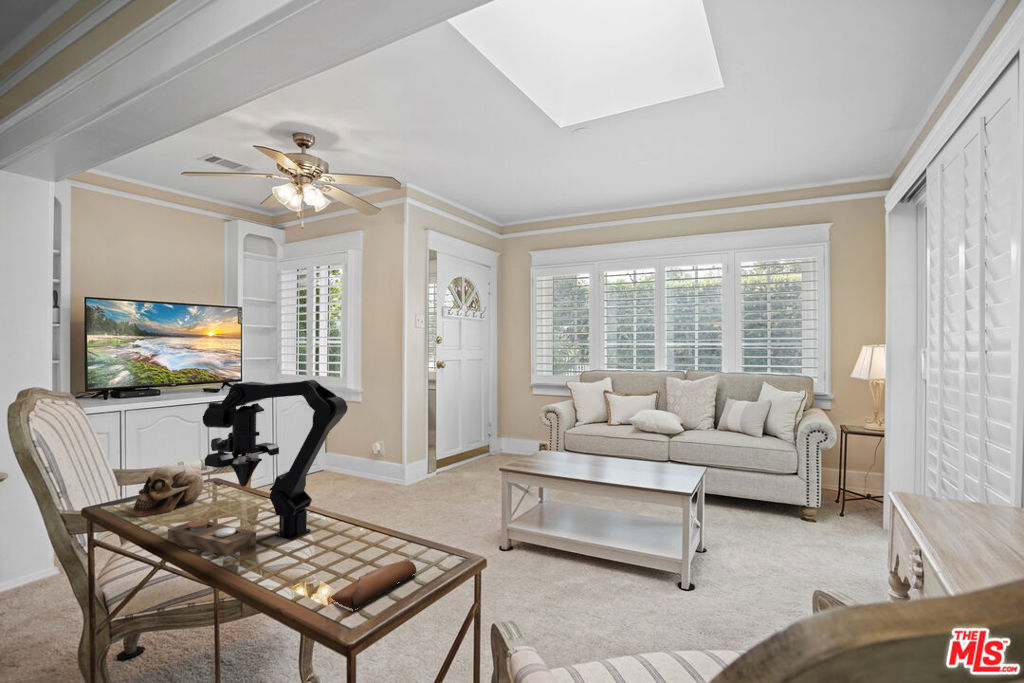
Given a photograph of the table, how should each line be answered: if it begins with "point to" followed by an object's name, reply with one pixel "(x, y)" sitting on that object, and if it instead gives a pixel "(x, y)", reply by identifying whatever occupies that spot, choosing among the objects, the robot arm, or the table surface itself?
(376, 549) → the table surface
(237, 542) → the walnut panel
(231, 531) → the white domed knob
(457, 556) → the table surface
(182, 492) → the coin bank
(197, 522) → the terracotta plunger
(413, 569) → the sunglasses case
